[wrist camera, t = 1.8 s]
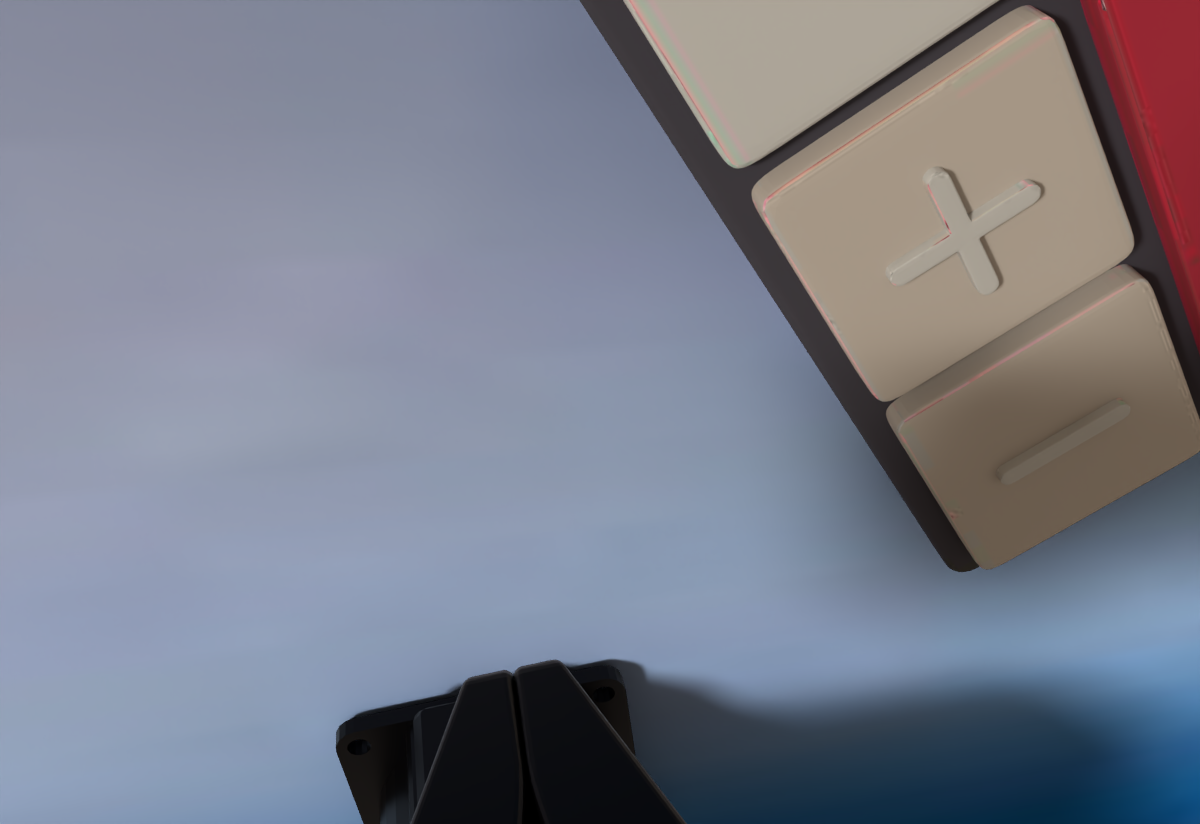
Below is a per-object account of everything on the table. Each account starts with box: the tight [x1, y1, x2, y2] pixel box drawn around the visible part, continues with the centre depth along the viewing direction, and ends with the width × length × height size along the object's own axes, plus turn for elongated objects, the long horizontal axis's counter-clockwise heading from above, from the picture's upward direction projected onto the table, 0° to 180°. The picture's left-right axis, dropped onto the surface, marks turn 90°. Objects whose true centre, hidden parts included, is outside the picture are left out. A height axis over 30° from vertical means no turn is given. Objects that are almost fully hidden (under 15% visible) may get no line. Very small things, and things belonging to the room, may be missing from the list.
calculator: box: [580, 0, 1200, 572], centre depth 19 cm, size 11×4×15 cm
